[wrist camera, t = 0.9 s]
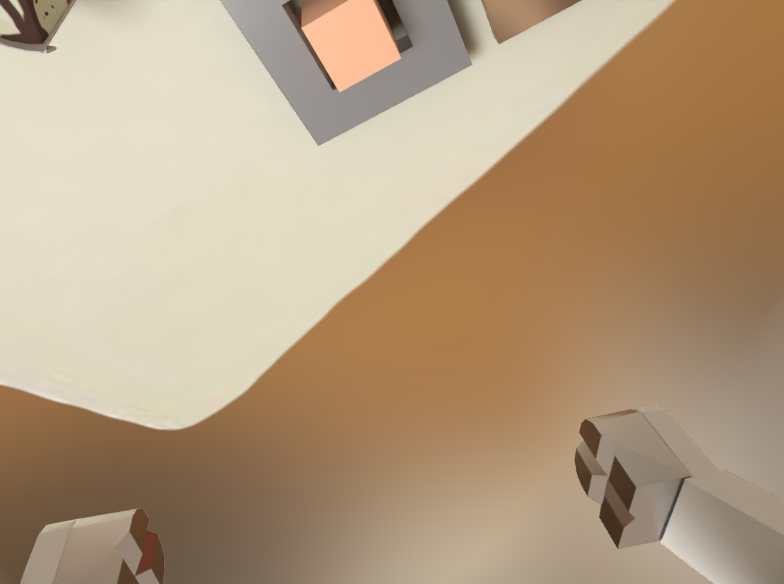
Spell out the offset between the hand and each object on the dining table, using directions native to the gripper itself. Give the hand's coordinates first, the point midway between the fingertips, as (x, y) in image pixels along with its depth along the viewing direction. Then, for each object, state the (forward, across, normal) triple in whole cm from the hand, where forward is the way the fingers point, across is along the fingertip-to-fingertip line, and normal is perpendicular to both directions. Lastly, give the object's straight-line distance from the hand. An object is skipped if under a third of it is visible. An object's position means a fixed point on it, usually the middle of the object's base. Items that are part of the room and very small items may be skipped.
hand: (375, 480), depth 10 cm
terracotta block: (+40, -5, -3) cm, 40 cm away
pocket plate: (+40, -5, -3) cm, 40 cm away
